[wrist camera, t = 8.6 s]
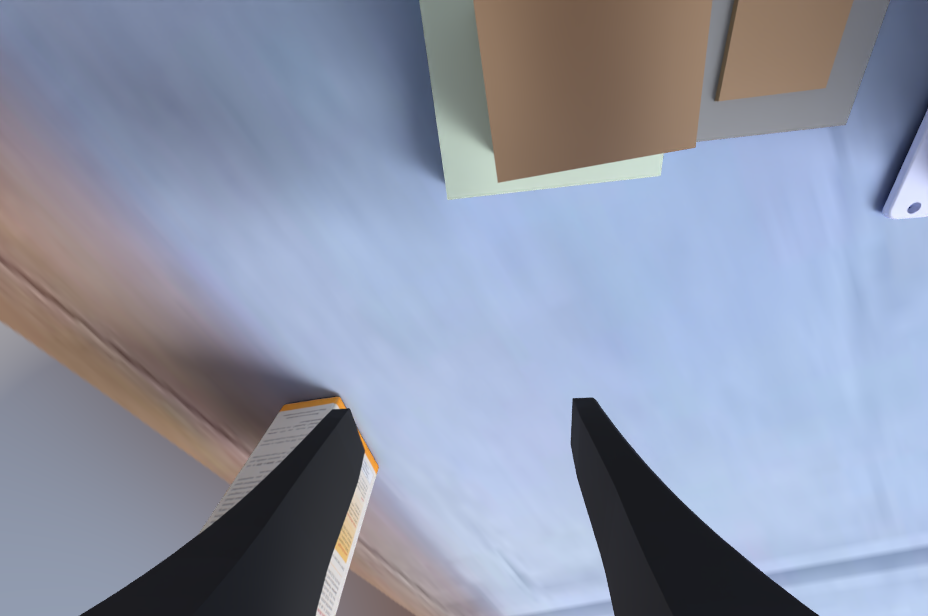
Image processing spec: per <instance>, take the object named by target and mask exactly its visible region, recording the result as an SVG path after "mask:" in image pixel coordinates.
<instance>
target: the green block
mask: <svg viewBox="0 0 928 616" xmlns="http://www.w3.org/2000/svg"><path fill="white" fill-rule="evenodd" d="M419 3H420V10H421V17H422V24H423V31H424V38H425V45H426V52H427V59H428V66H429V73H430V80H431V87H432V94H433V101H434V108H435V115H436V122H437V129H438V136H439V143H440V150H441V157H442V164H443V171H444V178H445V185H446V192H447V199H448V200H452V199H461V198H469V197H478V196H487V195H496V194H505V193H514V192H522V191H531V190H540V189H549V188H558V187H566V186H575V185H584V184H593V183H602V182H611V181H619V180H628V179H637V178H646V177H655V176H661V169H662V161H663V154H664V153H662V154H656V155H651V156H645V157H640V158H634V159H629V160H623V161H617V162H612V163H606V164H601V165H595V166H589V167H584V168H578V169H573V170H567V171H562V172H556V173H550V174H545V175H539V176H534V177H528V178H523V179H517V180H511V181H506V182H500V183H498V181H497V174H496V166H495V159H494V151H493V144H492V137H491V129H490V122H489V114H488V107H487V99H486V92H485V84H484V77H483V70H482V62H481V55H480V47H479V40H478V32H477V25H476V18H475V10H474V3H473V0H419Z"/></svg>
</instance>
